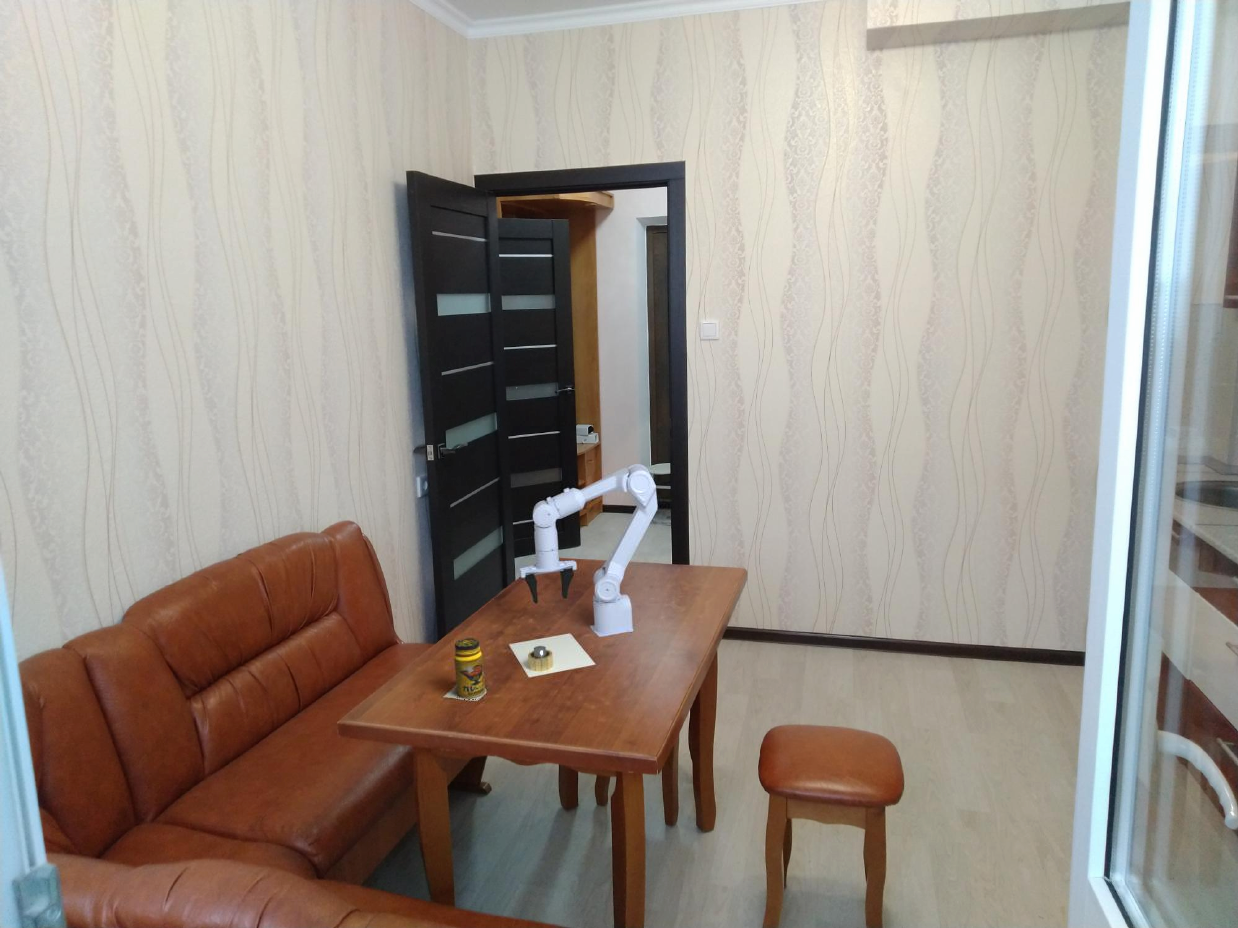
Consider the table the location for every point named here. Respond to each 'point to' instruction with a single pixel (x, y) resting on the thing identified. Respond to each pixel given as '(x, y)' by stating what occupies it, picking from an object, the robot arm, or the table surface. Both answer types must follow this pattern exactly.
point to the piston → (540, 652)
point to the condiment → (468, 671)
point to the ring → (540, 661)
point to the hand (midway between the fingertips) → (550, 599)
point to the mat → (563, 650)
